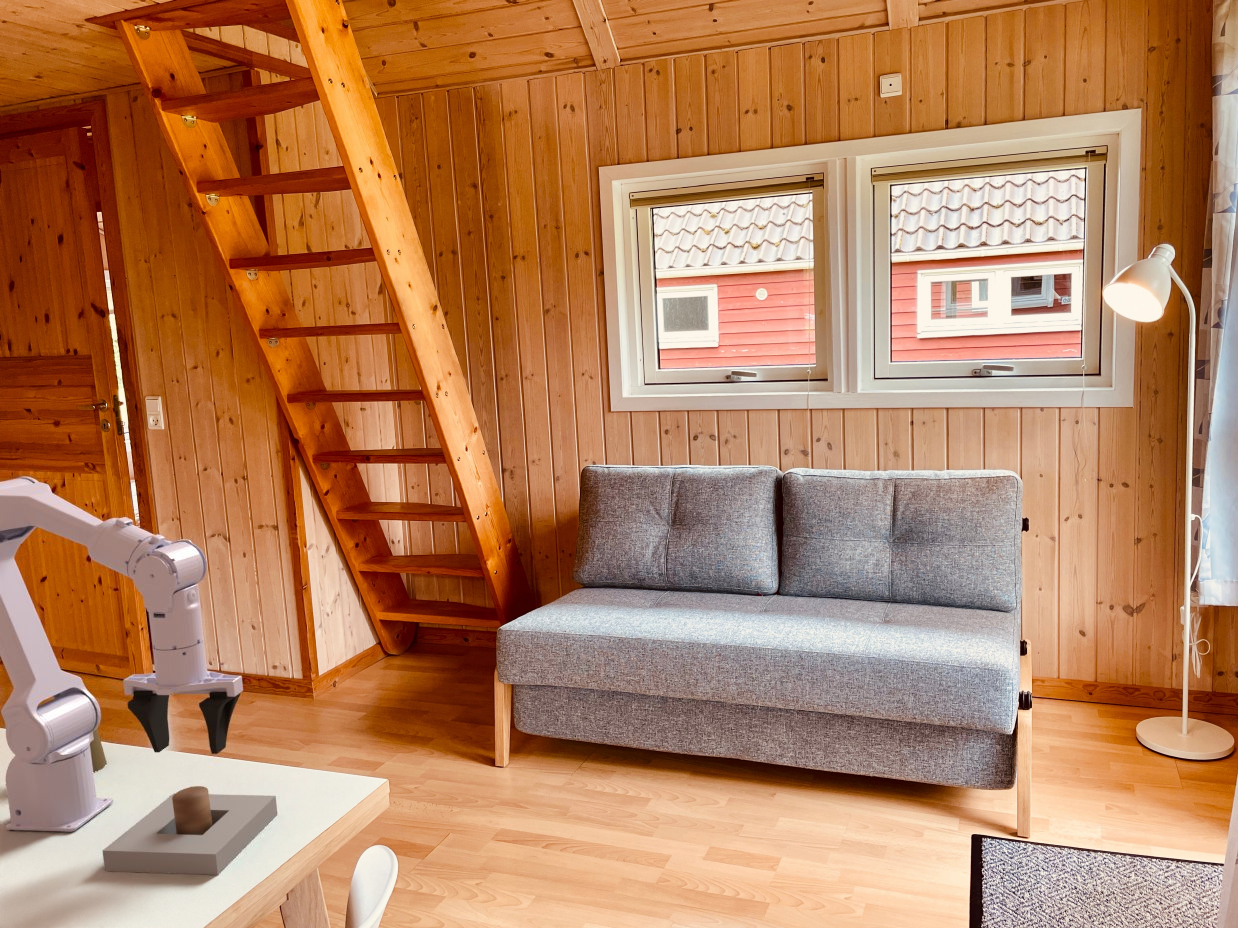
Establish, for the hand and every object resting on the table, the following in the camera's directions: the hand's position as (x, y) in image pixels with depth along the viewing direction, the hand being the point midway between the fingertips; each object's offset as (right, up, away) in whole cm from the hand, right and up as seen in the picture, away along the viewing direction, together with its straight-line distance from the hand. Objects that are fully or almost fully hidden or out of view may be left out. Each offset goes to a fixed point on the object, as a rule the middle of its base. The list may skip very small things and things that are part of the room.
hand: (190, 749), depth 121 cm
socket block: (+1, -11, -2) cm, 11 cm away
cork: (-25, -9, +21) cm, 34 cm away
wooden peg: (+1, -11, -1) cm, 11 cm away
